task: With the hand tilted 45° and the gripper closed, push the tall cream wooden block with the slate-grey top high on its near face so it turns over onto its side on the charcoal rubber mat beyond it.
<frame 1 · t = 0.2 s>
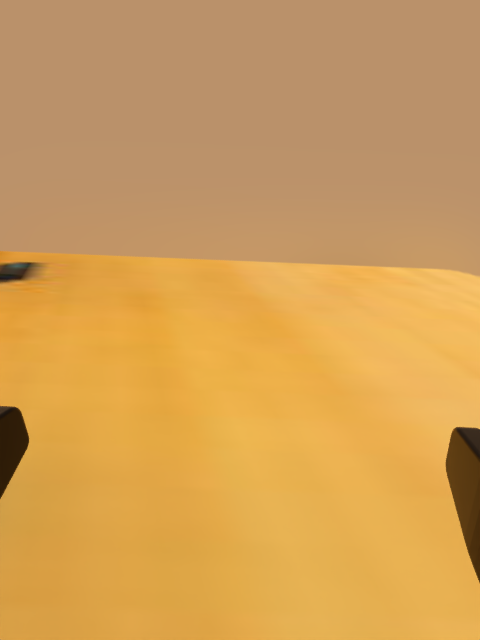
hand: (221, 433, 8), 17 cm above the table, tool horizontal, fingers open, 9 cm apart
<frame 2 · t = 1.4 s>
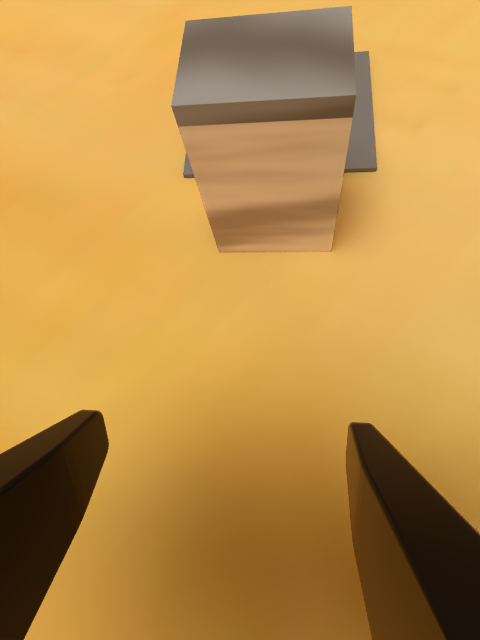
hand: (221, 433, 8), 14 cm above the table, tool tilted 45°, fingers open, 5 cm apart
cream block: (275, 218, 26), on the table
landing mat: (279, 114, 30), on the table
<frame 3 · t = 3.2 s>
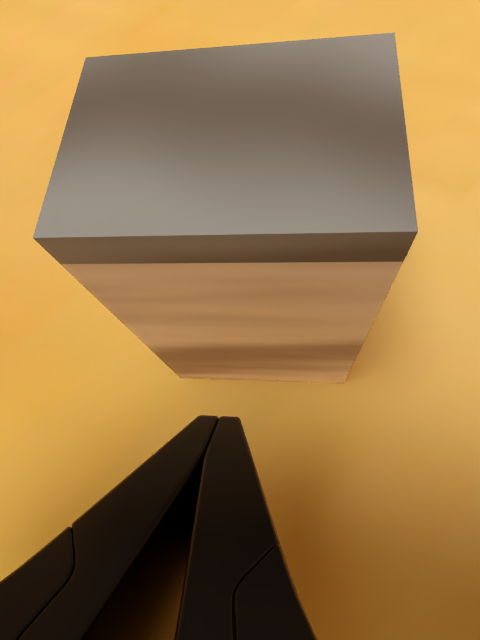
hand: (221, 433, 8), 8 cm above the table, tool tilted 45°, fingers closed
cream block: (262, 326, 18), on the table
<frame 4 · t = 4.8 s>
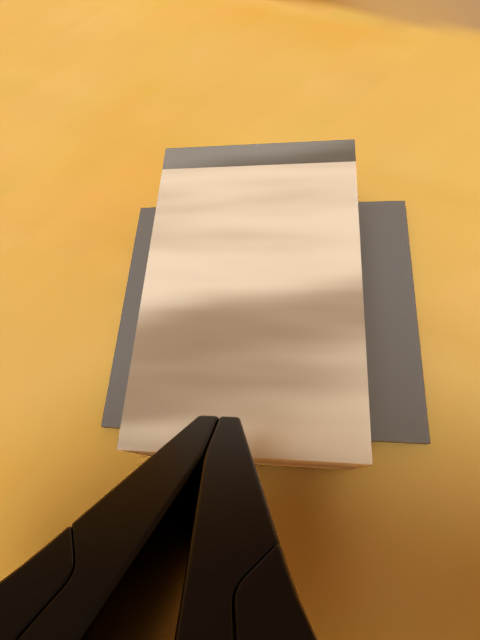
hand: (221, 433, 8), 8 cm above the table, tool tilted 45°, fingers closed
cream block: (248, 461, 13), point 3 cm above the table, tilted 90°, touching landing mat
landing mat: (262, 309, 18), on the table
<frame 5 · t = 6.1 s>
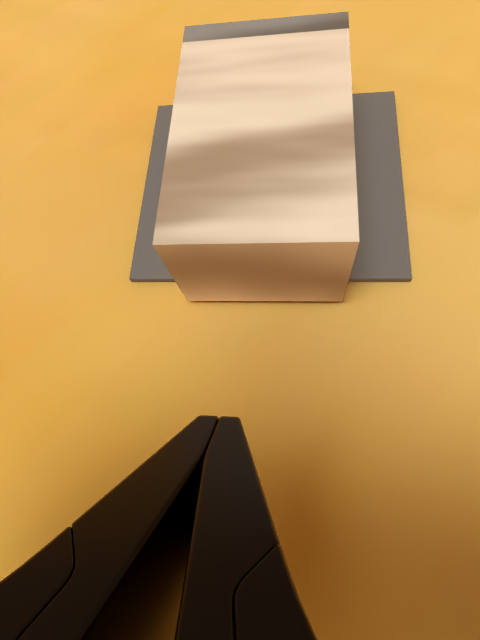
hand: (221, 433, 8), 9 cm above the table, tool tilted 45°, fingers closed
cream block: (258, 276, 16), point 3 cm above the table, tilted 90°, touching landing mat
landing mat: (268, 184, 21), on the table
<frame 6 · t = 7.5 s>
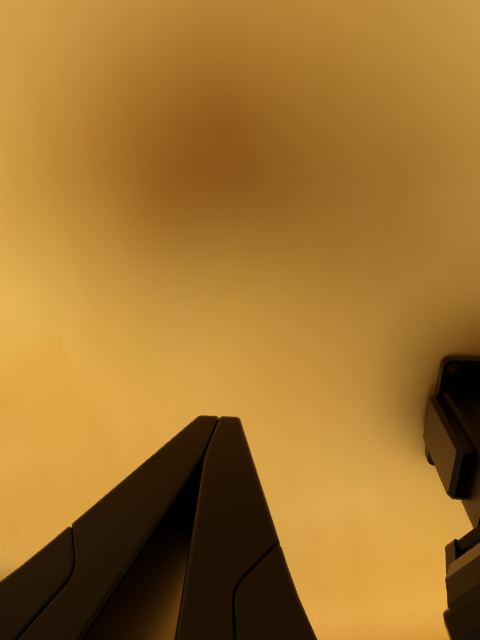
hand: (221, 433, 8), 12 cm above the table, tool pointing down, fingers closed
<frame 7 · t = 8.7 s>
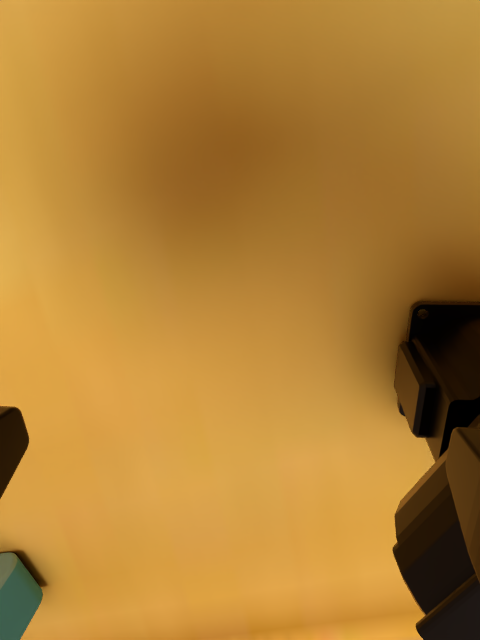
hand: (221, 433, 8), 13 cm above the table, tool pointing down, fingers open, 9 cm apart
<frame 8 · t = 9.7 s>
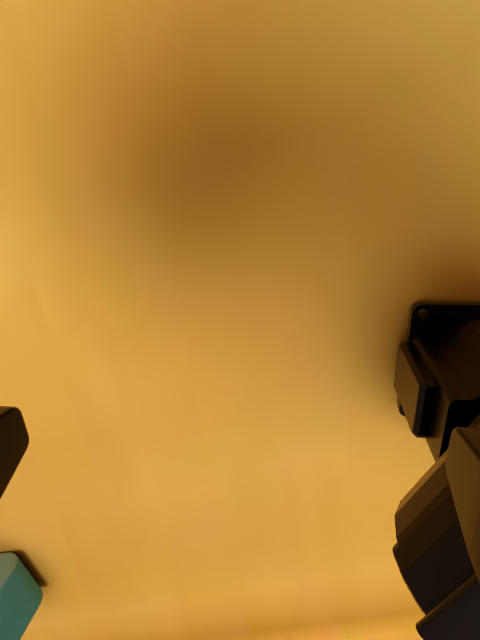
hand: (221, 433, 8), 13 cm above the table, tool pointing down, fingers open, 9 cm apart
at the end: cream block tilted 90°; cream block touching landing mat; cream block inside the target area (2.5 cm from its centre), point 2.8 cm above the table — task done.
